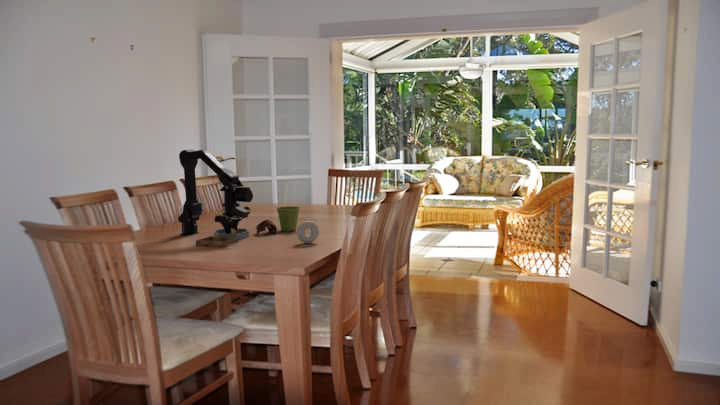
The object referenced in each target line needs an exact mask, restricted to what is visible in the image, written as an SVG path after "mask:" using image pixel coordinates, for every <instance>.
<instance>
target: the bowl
mask: <svg viewBox="0 0 720 405" xmlns="http://www.w3.org/2000/svg"><path fill="white" fill-rule="evenodd" d="M249 233H250V232H249V229H248V228H240V227H239V228H238V227H237V230H236V233H232V234H227V233H226V231H225V229H224V228H219V229H215V230H213V236H216V237H231V238H238V240H244V239H247V238H249V237H250V234H249Z"/></svg>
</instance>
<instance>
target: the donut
mask: <svg viewBox="0 0 720 405" xmlns="http://www.w3.org/2000/svg"><path fill="white" fill-rule="evenodd" d="M319 228H320V227H318V224H316V222H314V221H313V220H305V221H302V222H300V223H299V225H298V226H297V227H296V236H297V239H298V240H299V241H300V242H301V243H303V244H312V243H314V242H315V241H316V240H317V238H318V237H319V233H320V230H319ZM307 229H309V230H310V231H311V232H310V234H309V235H306V234H305V232H306V230H307Z"/></svg>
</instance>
